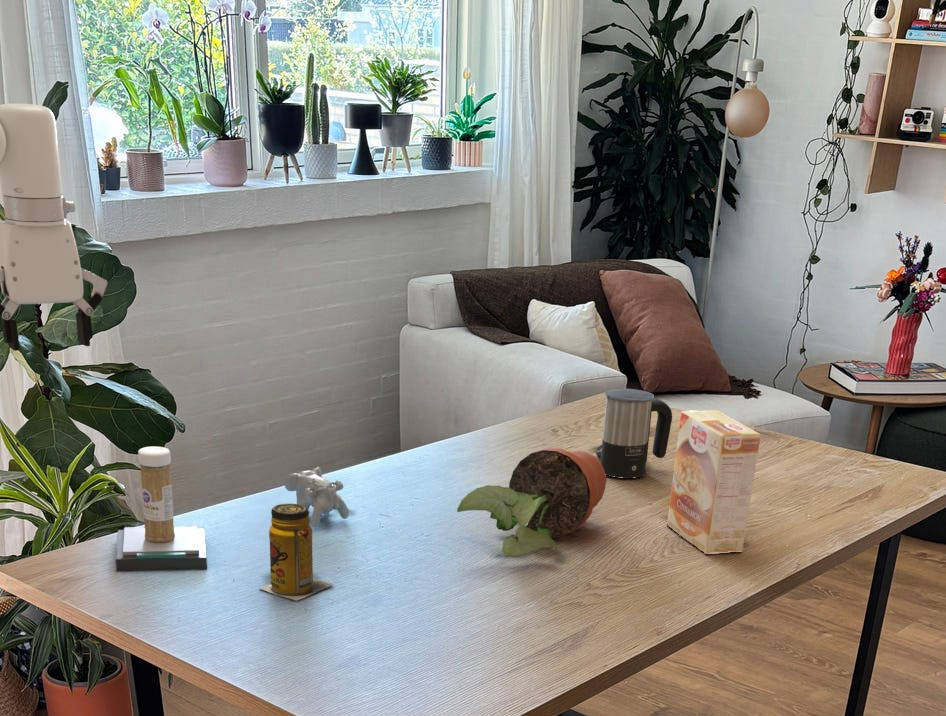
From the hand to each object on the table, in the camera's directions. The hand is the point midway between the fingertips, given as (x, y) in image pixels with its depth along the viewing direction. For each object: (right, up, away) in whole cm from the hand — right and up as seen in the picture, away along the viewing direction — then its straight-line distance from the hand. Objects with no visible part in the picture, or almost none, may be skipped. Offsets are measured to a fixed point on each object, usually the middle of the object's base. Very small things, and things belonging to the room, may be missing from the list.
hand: (49, 346), depth 179 cm
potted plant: (+68, -21, +31) cm, 78 cm away
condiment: (+33, -32, +10) cm, 47 cm away
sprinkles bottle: (+11, -23, +17) cm, 31 cm away
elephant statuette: (+31, -16, +36) cm, 51 cm away
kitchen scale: (+11, -25, +18) cm, 33 cm away
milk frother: (+86, +2, +73) cm, 113 cm away
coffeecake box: (+97, -19, +38) cm, 106 cm away
